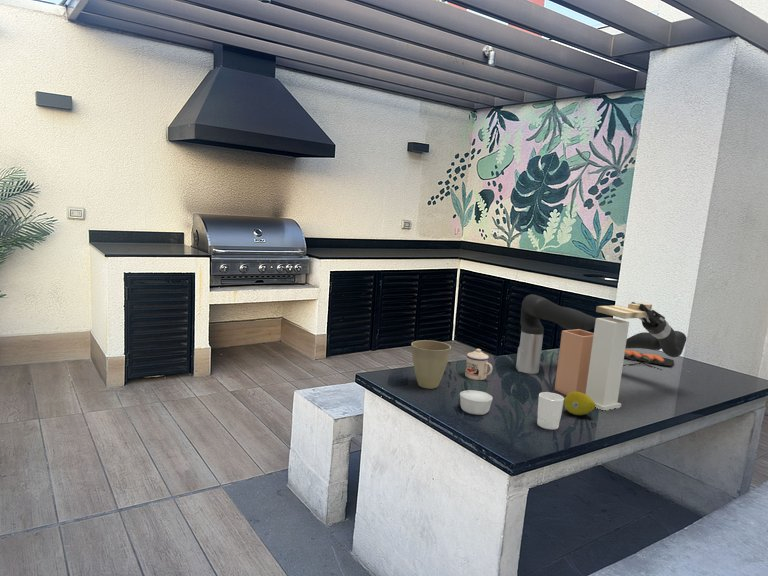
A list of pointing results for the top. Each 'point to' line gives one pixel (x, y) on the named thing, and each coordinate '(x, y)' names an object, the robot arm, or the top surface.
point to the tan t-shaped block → (624, 310)
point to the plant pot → (429, 362)
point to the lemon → (578, 403)
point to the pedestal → (607, 362)
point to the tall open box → (574, 361)
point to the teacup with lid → (477, 365)
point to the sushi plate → (647, 359)
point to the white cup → (549, 410)
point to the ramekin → (475, 402)
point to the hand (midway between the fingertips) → (636, 305)
